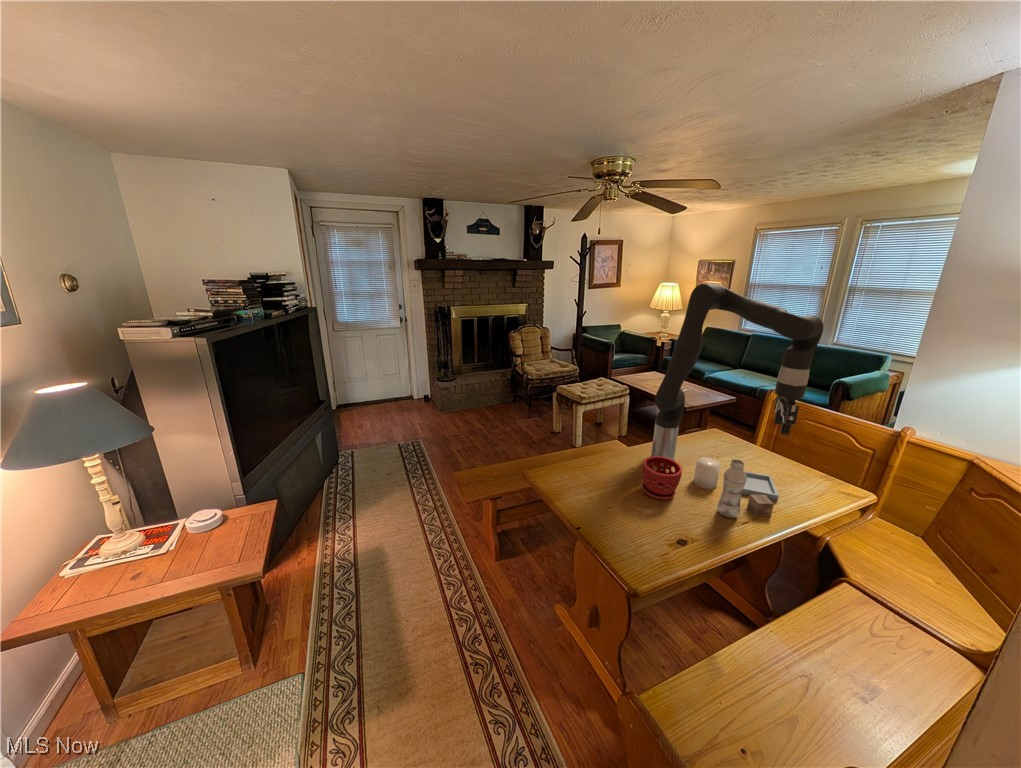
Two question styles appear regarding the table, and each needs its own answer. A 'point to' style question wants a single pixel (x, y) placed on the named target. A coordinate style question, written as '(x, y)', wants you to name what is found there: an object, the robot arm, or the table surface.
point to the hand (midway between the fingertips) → (781, 428)
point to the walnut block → (760, 505)
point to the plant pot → (660, 477)
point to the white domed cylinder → (706, 473)
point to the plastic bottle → (732, 489)
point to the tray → (760, 486)
